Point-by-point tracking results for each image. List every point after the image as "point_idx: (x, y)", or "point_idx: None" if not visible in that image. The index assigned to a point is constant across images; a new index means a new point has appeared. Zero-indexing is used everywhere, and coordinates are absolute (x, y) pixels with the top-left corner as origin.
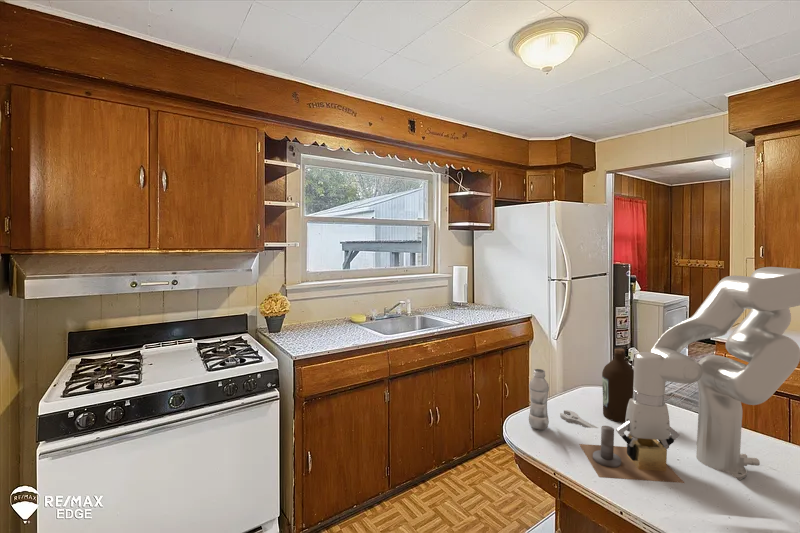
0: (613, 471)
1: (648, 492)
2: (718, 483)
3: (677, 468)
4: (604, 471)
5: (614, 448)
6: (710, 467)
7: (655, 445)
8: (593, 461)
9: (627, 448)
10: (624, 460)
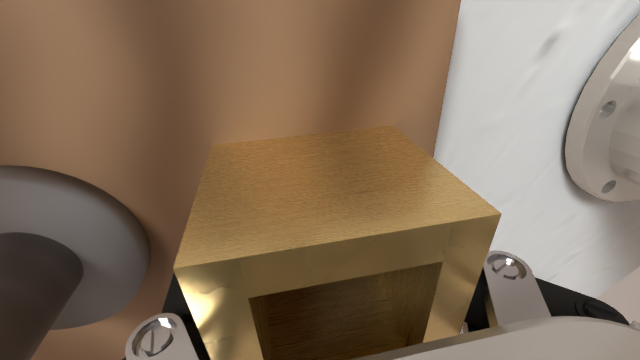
0: (99, 332)
1: None
2: (544, 223)
3: (470, 152)
4: (46, 347)
5: (105, 39)
6: (616, 164)
7: (416, 295)
8: None
9: (174, 288)
10: (177, 218)
